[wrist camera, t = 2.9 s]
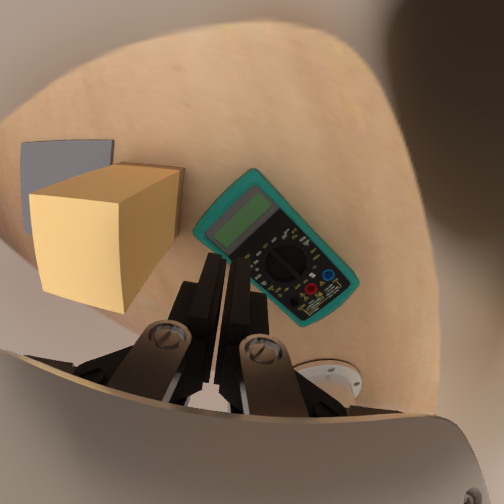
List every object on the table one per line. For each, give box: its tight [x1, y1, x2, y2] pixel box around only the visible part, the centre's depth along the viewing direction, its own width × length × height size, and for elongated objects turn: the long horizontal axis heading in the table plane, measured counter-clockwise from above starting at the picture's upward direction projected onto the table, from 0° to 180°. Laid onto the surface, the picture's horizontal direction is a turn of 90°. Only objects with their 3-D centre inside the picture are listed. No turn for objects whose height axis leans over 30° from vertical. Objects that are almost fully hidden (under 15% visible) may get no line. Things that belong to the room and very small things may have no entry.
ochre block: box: [29, 162, 185, 314], centre depth 17 cm, size 6×6×12 cm
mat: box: [20, 140, 114, 234], centre depth 22 cm, size 10×13×1 cm
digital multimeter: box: [193, 168, 360, 327], centre depth 24 cm, size 7×15×3 cm, turn 45°
